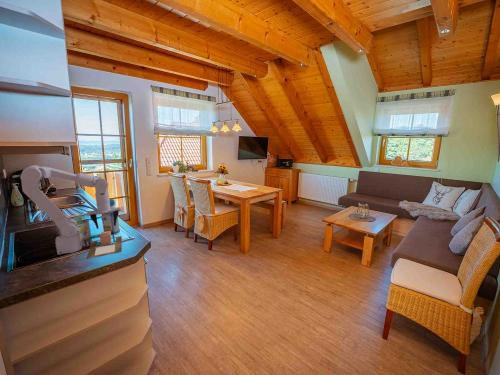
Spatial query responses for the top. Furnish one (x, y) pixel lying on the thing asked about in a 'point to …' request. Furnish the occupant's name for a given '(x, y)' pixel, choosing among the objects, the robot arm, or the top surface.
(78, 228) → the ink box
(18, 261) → the top surface
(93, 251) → the walnut pocket board
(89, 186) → the robot arm
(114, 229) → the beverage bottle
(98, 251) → the cream square
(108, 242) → the terracotta block
